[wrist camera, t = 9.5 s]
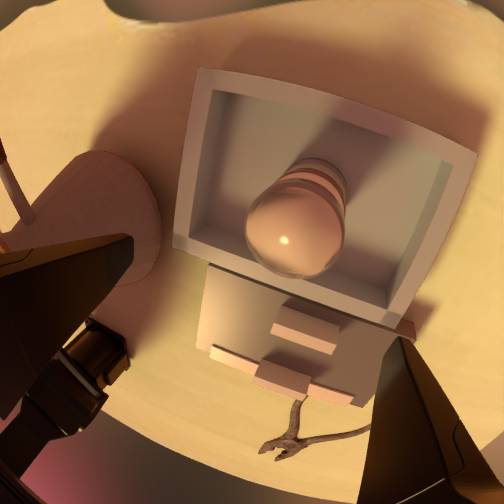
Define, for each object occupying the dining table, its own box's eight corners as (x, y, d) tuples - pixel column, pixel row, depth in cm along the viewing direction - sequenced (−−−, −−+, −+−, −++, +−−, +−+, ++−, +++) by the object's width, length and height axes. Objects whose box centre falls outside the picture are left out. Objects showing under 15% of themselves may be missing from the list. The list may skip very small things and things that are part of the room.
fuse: (273, 210, 20) (235, 259, 14) (290, 148, 18) (256, 170, 12) (335, 232, 19) (324, 292, 13) (356, 171, 17) (359, 205, 11)
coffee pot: (174, 286, 27) (59, 408, 14) (83, 245, 29) (-27, 323, 16) (210, 25, 16) (8, -30, 3) (94, 31, 18) (-65, 36, 5)
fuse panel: (204, 335, 28) (185, 364, 25) (219, 252, 23) (194, 278, 20) (362, 393, 25) (358, 427, 22) (413, 323, 21) (418, 359, 17)
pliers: (399, 407, 24) (318, 473, 34) (399, 401, 25) (319, 469, 35) (311, 379, 26) (255, 454, 36) (312, 373, 27) (257, 449, 37)
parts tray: (191, 230, 23) (171, 247, 21) (219, 71, 17) (198, 67, 15) (392, 303, 21) (394, 329, 18) (461, 147, 15) (478, 154, 12)
